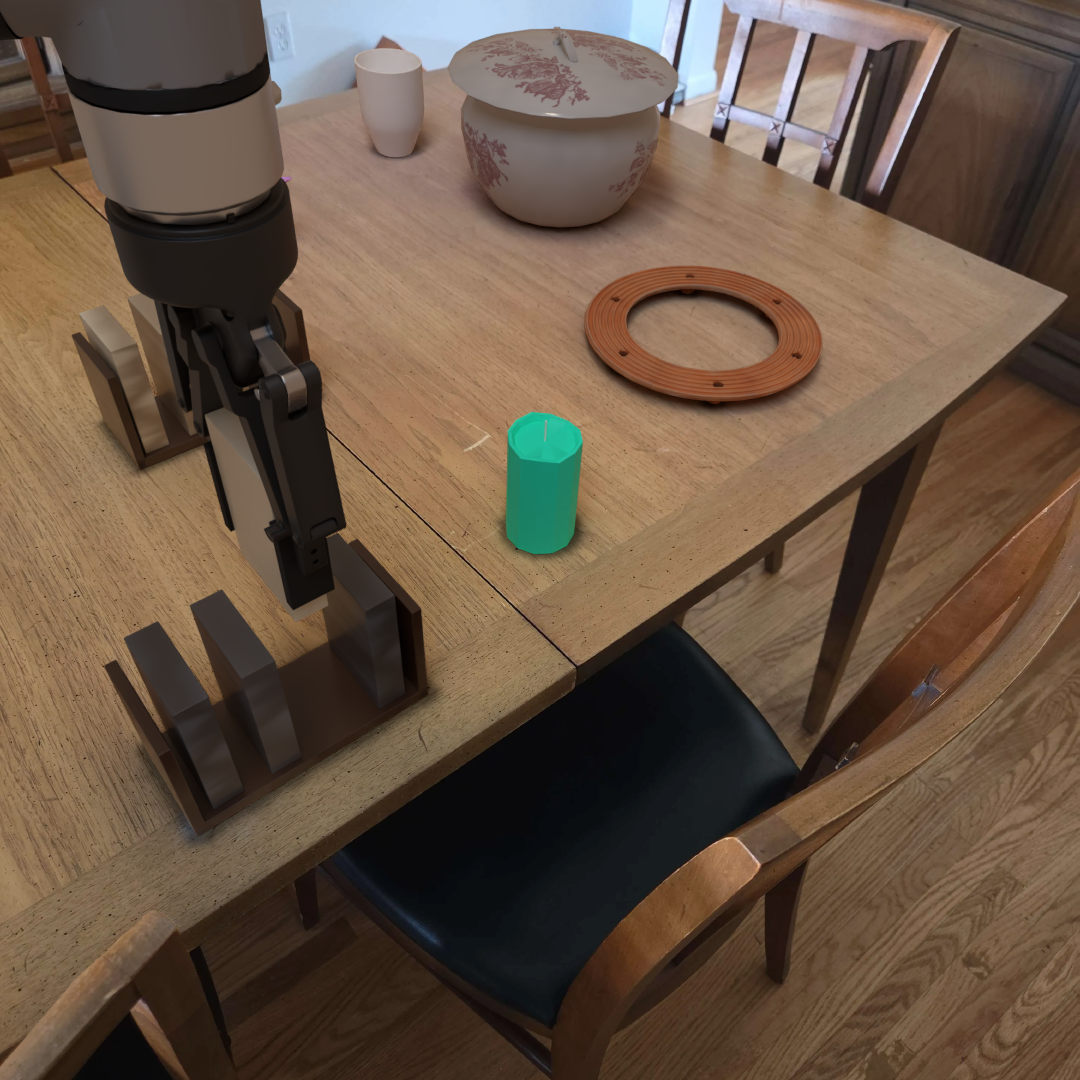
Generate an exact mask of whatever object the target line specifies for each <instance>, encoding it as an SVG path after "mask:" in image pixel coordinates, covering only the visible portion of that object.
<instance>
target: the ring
mask: <svg viewBox="0 0 1080 1080" xmlns="http://www.w3.org/2000/svg"><path fill="white" fill-rule="evenodd" d="M678 290H679V291H680V292H681V293H683V294H687V295H690V294H692V293H694V292H695V290H699V291H701V290H702V291H710V292H716V293H720V294H726V295H728V296H732V297H735V298H738V299H740V300H743V301H744V302H746V303H749V304H751V305H752V306H754V307H756V308H757V309H758V310H760V311H762V312H763V313H764V316H765V317H766V318H767V319H769V320H771V321H772V323H773V325H774V326H775V328H776V331H777V334H778V343H777V346H776V348H775V350H774V351H772V353H771V354H769V356H767V357H766V358H764V359H762V360H761V361H758V362H756V363H753V364H749V365H747V366H744V367H743V366H742V367H739V368H730V369H719V370H718V369H701V368H693V367H687V366H683V365H679V364H676V363H672V362H670V361H667V360H665V359H662V358H660V357H658V356H656V355H654V354H652V353H651V352H649V351H648V350H646V349H645V348H644V347H642V346H641V345H640V344H639V343H638V342H637V341H636V340H635V339H634V337H632V335H631V332H630V331H629V329H628V326H627V320H628V319H627V317H628V314H629V312H630V310H631V309H632V308H633V307H634V306H635V305H637V304H638V303H639V302H641V301H642V300H644V299H646V298H649V297H651V296H654V295H657V294H660V293H661V294H662V293H665V292H670V291H671V292H672V291H678ZM583 319H584V323H583V324H584V326H583V327H584V333H585V336H586V338H587V340H588V343H589V344H590V346H591V348H592V349H593V351H594V352H595V354H596V355H597V356H599V358H600V359H601V360H602V362H603V363H605V364H606V365H607V366H608V367H609V368H611V369H612V370H614V371H615V372H616V373H618V374H619V375H621V376H622V377H624V378H626V379H628V380H630V381H631V382H633V383H636V384H638V385H639V386H642V387H644V388H646V389H650V390H652V391H654V392H658V393H661V394H665V395H668V396H673V397H676V398H677V397H678V398H682V399H688V400H689V399H690V400H696V401H705V402H706V401H707V402H708V403H710V404H713V405H714V404H715V405H716V404H720V403H722V402H734V401H746V400H751V399H759V398H762V397H763V398H764V397H766V396H771V395H773V394H776V393H779V392H781V391H785V390H786V389H789V388H790V387H792V386H794V385H796V384H797V383H798V382H800V381H801V380H803V379H804V378H805V377H806V376H807V375H808V374H809V373H810V372H811V371H812V370H814V368H815V366H817V363H818V362H819V360H820V358H821V355H822V350H823V344H824V342H823V341H824V340H823V334H822V329H821V328H820V326H819V324H818V322H817V320H816V319H815V317H814V316H813V314H812V312H811V311H809V310H808V309H807V308H806V307H805V305H803V304H802V302H801V301H799V300H798V299H796V298H795V297H794V296H792V295H791V294H789V292H788V291H785V290H784V289H782V288H780V287H778V286H776V285H774V284H772V283H771V282H768V281H765V280H763V279H761V278H758V277H755V276H752V275H750V274H746V273H744V272H743V273H742V272H739V271H735V270H731V269H725V268H721V267H714V266H705V265H667V266H658V267H651V268H647V269H643V270H637V271H634V272H631V273H628V274H626V275H623V276H620V277H618V278H617V279H615V280H613V281H611V282H609V283H607V284H606V285H605V286H604V287H602V288H601V289H600V290H599V291H598V292H597V293H596V294H595V295H594V296H593V297H592V298H591V300H590V302H588V305H587V307H586V310H585V313H584V318H583Z"/></svg>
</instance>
